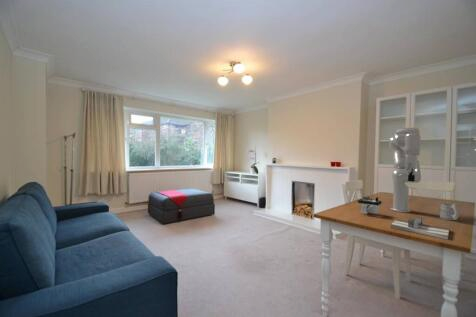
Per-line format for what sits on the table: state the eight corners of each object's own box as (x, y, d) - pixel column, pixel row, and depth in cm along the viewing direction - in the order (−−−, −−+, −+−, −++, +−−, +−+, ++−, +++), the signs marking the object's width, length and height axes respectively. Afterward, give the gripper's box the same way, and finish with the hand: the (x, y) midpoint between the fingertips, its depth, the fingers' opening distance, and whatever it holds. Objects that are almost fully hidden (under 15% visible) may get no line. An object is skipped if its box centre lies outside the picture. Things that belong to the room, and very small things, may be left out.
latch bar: (417, 222, 137) (417, 217, 137) (422, 223, 136) (422, 217, 135) (412, 227, 129) (413, 221, 129) (418, 228, 127) (418, 222, 127)
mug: (448, 217, 157) (448, 200, 156) (463, 222, 145) (464, 204, 144) (436, 217, 157) (437, 200, 157) (451, 222, 145) (451, 204, 145)
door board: (397, 221, 148) (397, 212, 148) (449, 230, 130) (449, 220, 130) (390, 227, 135) (391, 217, 135) (447, 239, 117) (447, 228, 117)
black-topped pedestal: (342, 213, 167) (342, 195, 166) (356, 207, 184) (356, 191, 184) (386, 222, 146) (386, 202, 145) (397, 215, 163) (397, 196, 163)
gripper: (406, 152, 152) (406, 179, 153) (402, 153, 142) (401, 182, 142) (421, 152, 147) (420, 180, 148) (417, 153, 136) (416, 183, 137)
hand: (411, 181), depth 145 cm, fingers closed
